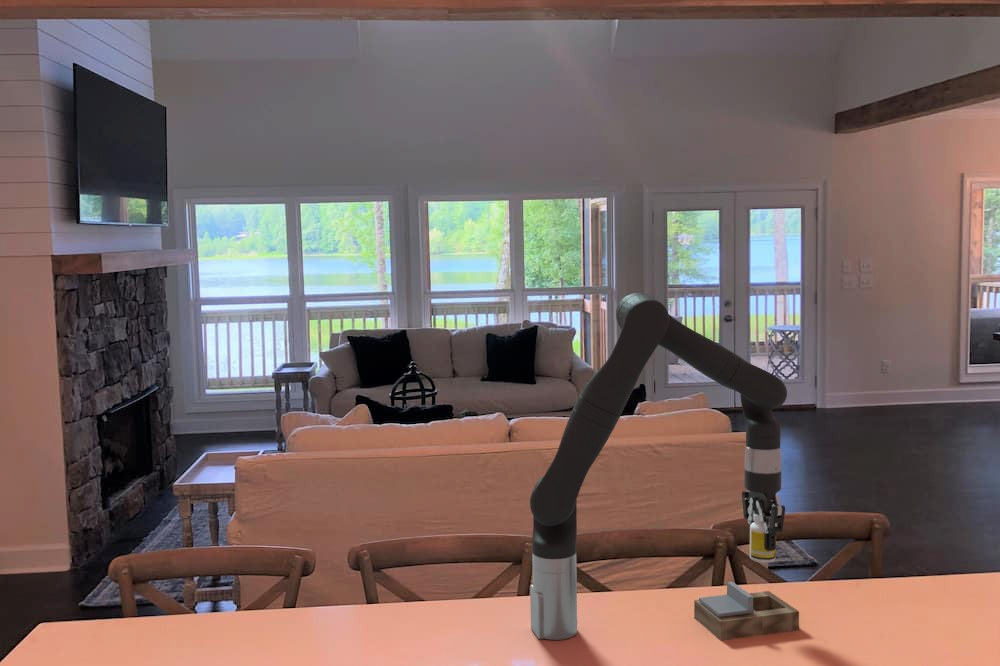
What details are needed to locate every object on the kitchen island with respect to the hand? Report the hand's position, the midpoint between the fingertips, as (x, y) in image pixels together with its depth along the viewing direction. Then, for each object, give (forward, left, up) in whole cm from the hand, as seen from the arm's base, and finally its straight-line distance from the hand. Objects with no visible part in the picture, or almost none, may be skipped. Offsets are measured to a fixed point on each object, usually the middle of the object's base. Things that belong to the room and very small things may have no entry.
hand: (762, 545), depth 194 cm
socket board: (-4, 0, -17) cm, 17 cm away
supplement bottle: (0, 0, -3) cm, 3 cm away
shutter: (-8, 0, -13) cm, 15 cm away
